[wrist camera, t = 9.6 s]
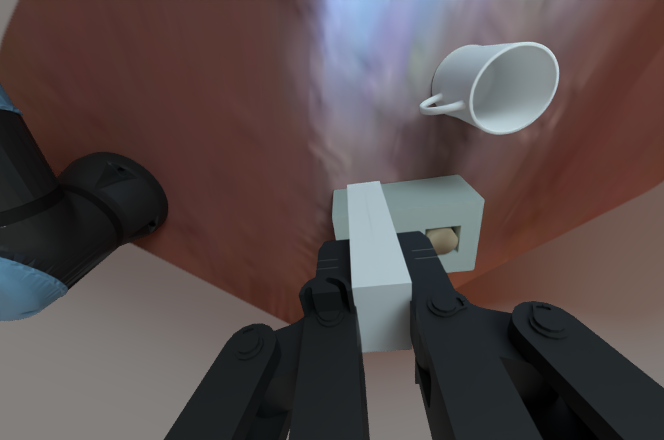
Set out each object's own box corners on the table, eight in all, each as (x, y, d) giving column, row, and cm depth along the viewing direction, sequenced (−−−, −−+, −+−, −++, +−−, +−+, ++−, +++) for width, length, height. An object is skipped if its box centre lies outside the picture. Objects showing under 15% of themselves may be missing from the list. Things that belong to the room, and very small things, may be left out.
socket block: (342, 248, 51) (343, 281, 43) (333, 190, 45) (332, 217, 37) (452, 236, 49) (473, 270, 41) (458, 174, 43) (484, 199, 35)
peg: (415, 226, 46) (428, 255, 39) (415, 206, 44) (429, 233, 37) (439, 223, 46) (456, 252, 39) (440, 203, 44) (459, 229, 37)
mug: (410, 128, 39) (435, 152, 29) (403, 62, 35) (430, 63, 25) (495, 107, 38) (554, 126, 27) (499, 36, 33) (570, 25, 23)
